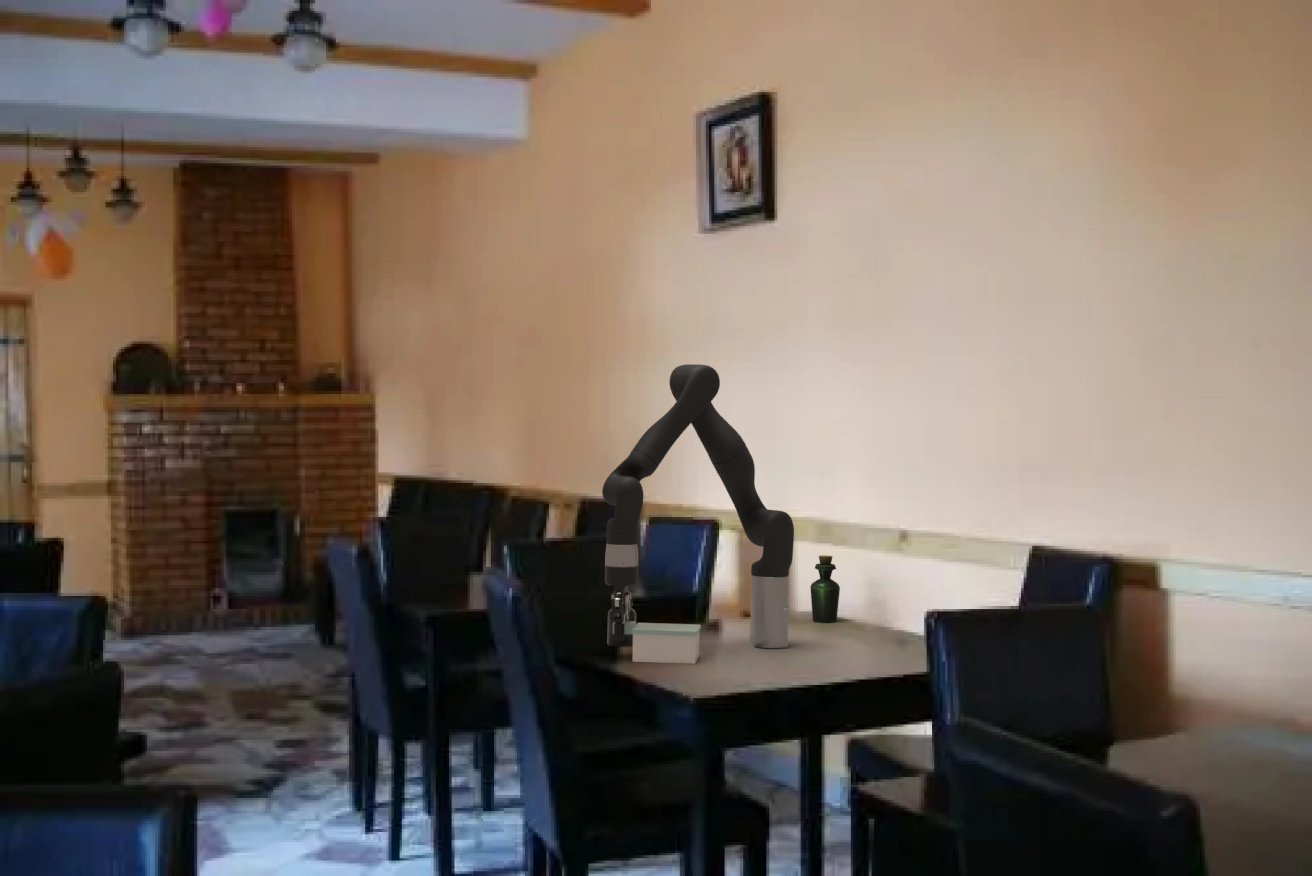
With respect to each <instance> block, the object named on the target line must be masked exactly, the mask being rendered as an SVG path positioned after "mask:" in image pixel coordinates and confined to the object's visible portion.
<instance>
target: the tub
mask: <svg viewBox="0 0 1312 876" xmlns="http://www.w3.org/2000/svg"><path fill="white" fill-rule="evenodd" d="M699 657H700V632H699V633H698V635H697V636H677V635H645V634H633V646H632V662H634V663H657V664H658V663H661V664H687V665H695V664H696V663H697V661H698V659H699Z"/></svg>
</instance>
